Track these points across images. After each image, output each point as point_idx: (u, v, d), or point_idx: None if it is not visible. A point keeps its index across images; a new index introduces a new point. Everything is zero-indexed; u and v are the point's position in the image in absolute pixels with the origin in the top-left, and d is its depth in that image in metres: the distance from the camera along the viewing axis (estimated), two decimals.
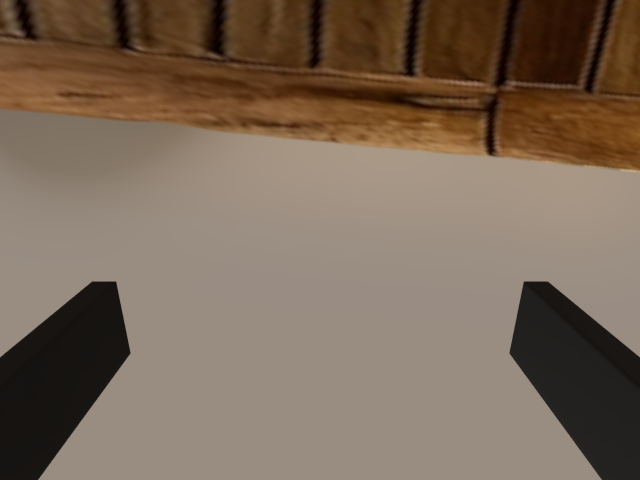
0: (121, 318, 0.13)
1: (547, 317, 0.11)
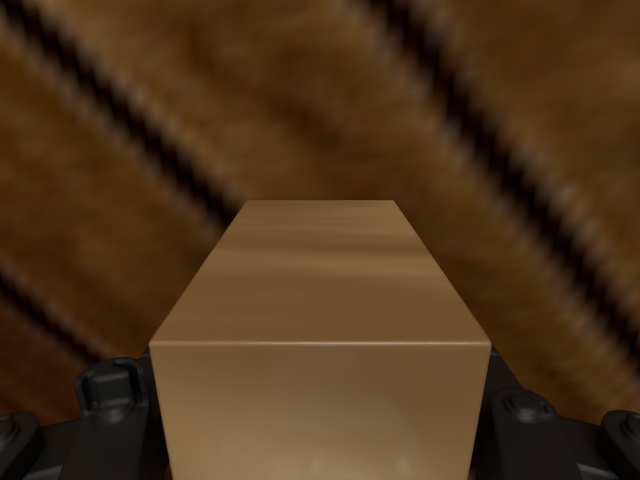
0: None
1: None
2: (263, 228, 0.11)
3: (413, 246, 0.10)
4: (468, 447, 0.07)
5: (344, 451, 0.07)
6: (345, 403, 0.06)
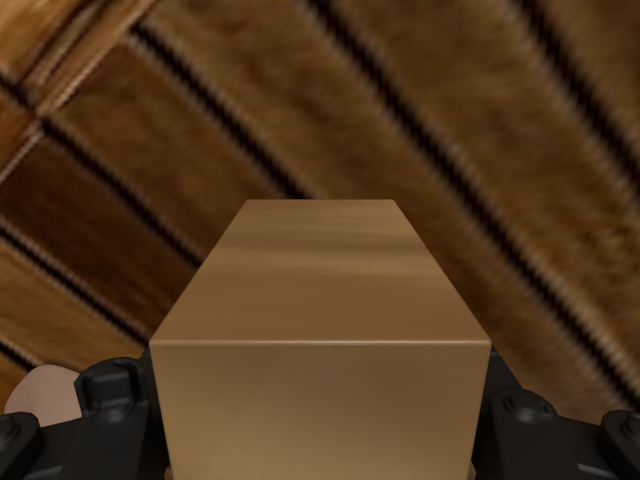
0: None
1: None
2: (263, 227, 0.11)
3: (413, 245, 0.10)
4: (468, 446, 0.07)
5: (345, 449, 0.07)
6: (344, 402, 0.06)
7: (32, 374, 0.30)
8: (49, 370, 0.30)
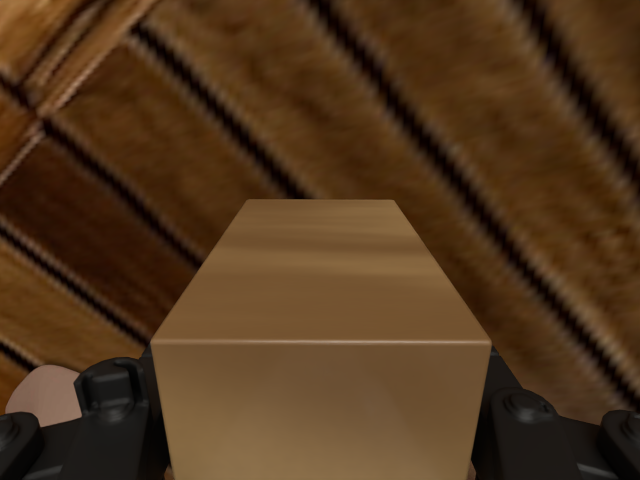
0: None
1: None
2: (263, 227, 0.11)
3: (413, 246, 0.10)
4: (468, 446, 0.07)
5: (345, 448, 0.07)
6: (345, 401, 0.06)
7: (33, 374, 0.30)
8: (50, 370, 0.30)
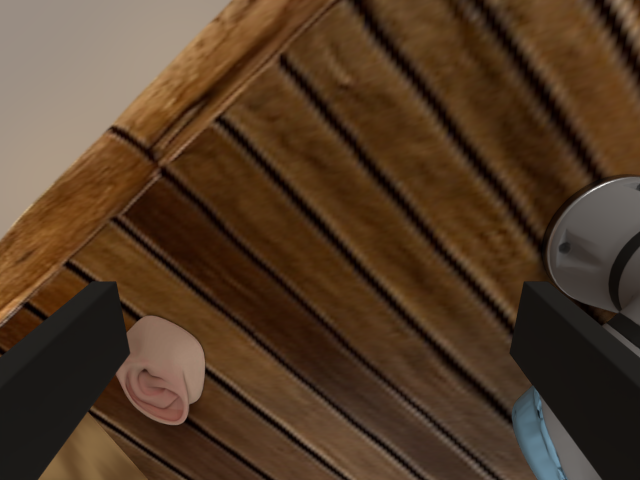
0: (121, 318, 0.13)
1: (547, 317, 0.11)
2: None
3: None
4: None
5: None
6: None
7: (140, 321, 0.48)
8: (151, 319, 0.48)
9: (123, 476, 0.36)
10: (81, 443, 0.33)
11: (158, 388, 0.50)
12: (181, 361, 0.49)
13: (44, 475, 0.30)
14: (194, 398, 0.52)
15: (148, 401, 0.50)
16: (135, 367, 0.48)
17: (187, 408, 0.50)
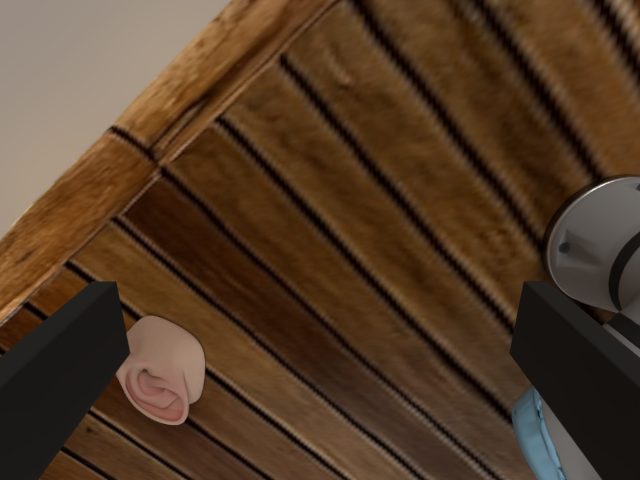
0: (121, 318, 0.13)
1: (547, 317, 0.11)
2: None
3: None
4: None
5: None
6: None
7: (140, 321, 0.48)
8: (151, 319, 0.48)
9: None
10: None
11: (158, 388, 0.50)
12: (181, 361, 0.49)
13: None
14: (194, 398, 0.52)
15: (148, 401, 0.50)
16: (135, 367, 0.48)
17: (187, 408, 0.50)
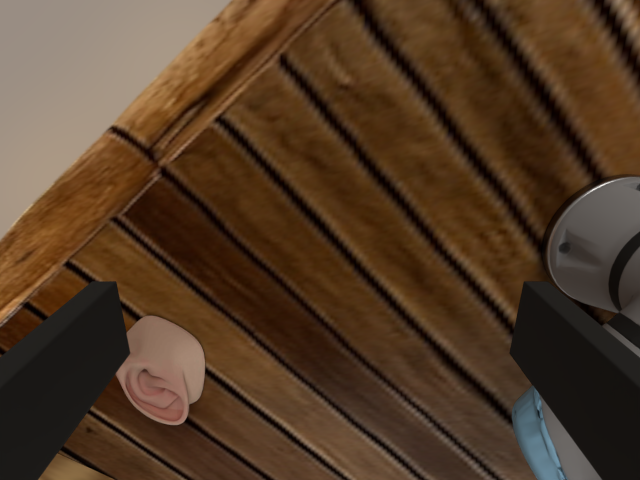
0: (121, 318, 0.13)
1: (547, 317, 0.11)
2: None
3: None
4: None
5: None
6: None
7: (140, 321, 0.48)
8: (151, 319, 0.48)
9: None
10: None
11: (158, 388, 0.50)
12: (181, 361, 0.49)
13: None
14: (194, 398, 0.52)
15: (148, 401, 0.50)
16: (135, 367, 0.48)
17: (187, 408, 0.50)
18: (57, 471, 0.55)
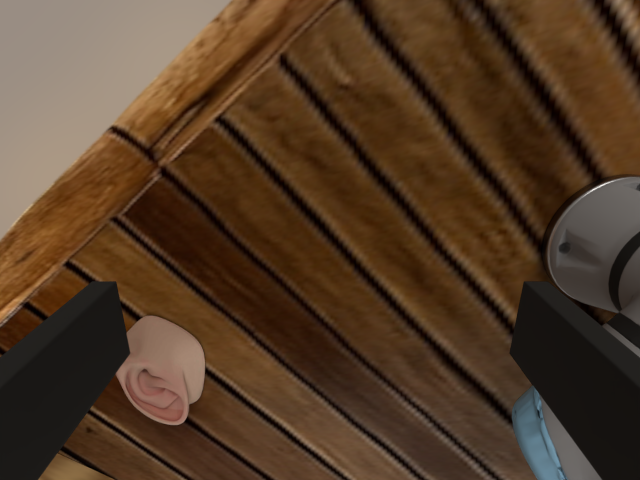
0: (121, 318, 0.13)
1: (547, 317, 0.11)
2: None
3: None
4: None
5: None
6: None
7: (140, 321, 0.48)
8: (151, 319, 0.48)
9: None
10: None
11: (158, 388, 0.50)
12: (181, 361, 0.49)
13: None
14: (194, 398, 0.52)
15: (148, 401, 0.50)
16: (135, 367, 0.48)
17: (187, 408, 0.50)
18: (57, 471, 0.55)
